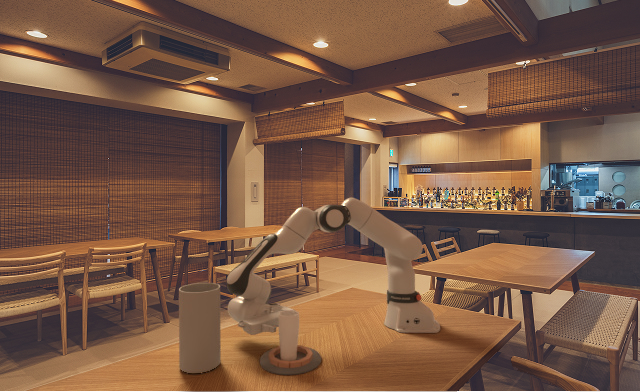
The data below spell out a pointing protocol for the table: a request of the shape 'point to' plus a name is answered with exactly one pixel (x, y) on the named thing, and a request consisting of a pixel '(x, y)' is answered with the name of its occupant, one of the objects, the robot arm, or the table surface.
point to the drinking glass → (288, 334)
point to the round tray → (290, 370)
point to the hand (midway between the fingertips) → (285, 326)
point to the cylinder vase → (199, 327)
